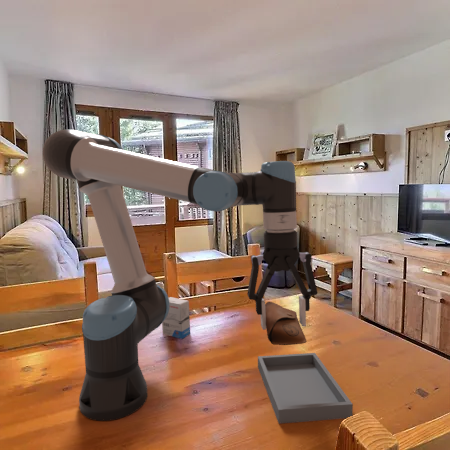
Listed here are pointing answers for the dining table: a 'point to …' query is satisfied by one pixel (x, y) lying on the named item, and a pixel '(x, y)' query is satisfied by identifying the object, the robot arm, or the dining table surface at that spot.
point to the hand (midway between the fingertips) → (283, 325)
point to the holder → (302, 389)
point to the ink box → (177, 319)
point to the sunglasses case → (283, 326)
